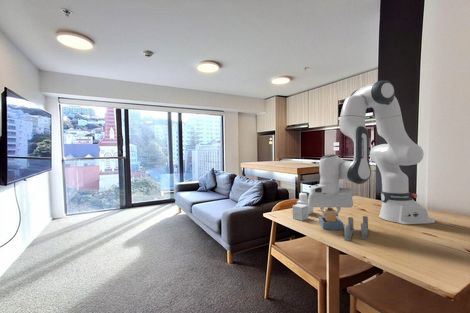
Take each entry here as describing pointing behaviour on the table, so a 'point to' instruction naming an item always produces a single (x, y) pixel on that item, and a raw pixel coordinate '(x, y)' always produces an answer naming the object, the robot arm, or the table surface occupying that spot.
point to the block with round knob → (330, 215)
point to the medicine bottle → (305, 201)
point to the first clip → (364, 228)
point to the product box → (300, 212)
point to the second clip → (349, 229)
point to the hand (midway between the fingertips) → (330, 216)
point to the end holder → (331, 224)
